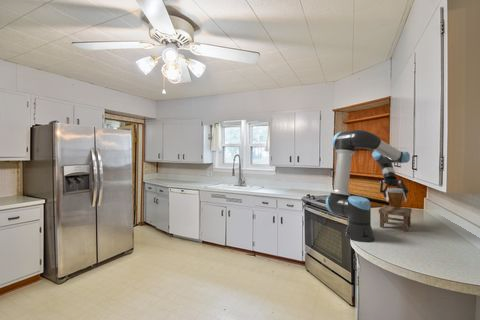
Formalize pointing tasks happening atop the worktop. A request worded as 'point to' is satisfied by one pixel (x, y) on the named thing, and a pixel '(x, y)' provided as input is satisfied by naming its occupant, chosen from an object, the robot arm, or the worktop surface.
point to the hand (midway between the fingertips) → (396, 201)
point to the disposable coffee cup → (395, 197)
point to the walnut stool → (395, 211)
